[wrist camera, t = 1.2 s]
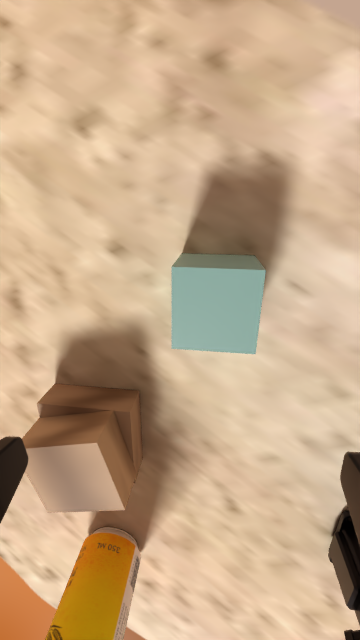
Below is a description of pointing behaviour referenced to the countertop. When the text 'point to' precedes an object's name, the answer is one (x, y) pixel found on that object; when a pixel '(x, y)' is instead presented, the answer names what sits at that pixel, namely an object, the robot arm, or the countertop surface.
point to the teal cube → (216, 302)
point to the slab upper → (79, 462)
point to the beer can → (98, 589)
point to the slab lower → (96, 400)
